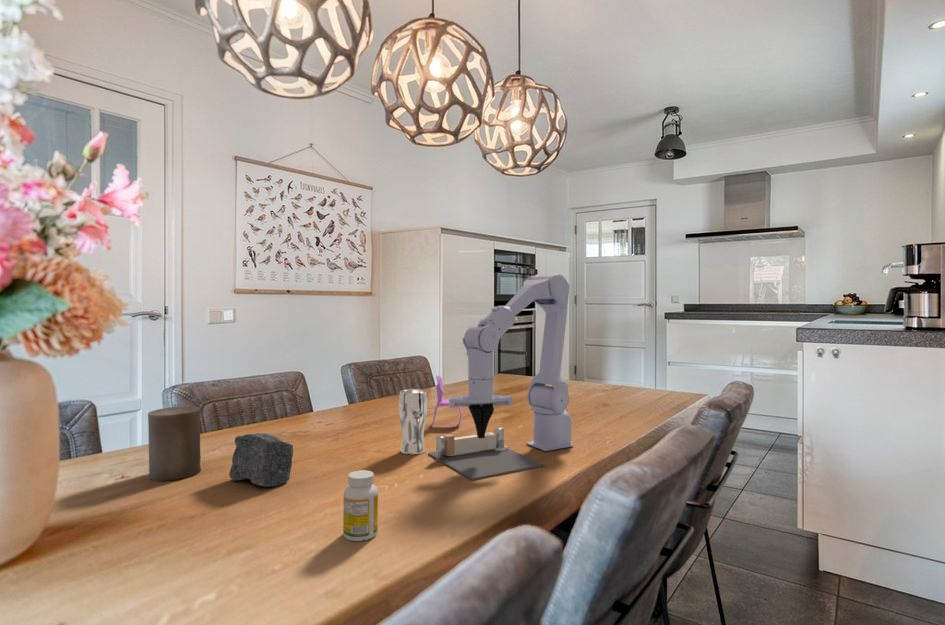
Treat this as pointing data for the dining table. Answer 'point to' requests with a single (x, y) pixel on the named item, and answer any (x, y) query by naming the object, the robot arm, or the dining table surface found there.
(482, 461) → the mat
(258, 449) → the stone
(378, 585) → the dining table surface
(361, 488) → the supplement bottle
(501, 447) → the post
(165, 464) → the pillar candle
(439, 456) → the post
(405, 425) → the beer glass
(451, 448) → the gate
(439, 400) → the toy chair
